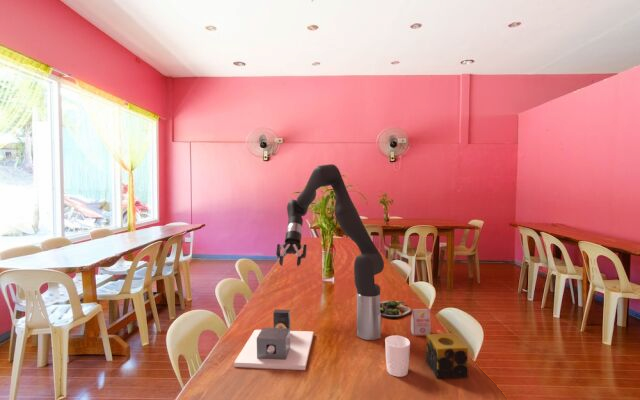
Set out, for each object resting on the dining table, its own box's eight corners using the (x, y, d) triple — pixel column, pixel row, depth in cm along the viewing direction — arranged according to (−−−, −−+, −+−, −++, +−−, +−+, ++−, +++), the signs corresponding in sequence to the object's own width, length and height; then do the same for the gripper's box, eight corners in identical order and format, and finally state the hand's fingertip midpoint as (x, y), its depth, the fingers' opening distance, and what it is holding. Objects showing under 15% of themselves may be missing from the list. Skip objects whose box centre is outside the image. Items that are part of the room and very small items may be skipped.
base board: (313, 335, 131) (313, 331, 131) (305, 370, 107) (305, 365, 107) (255, 333, 133) (255, 329, 133) (234, 366, 109) (234, 362, 109)
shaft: (290, 332, 130) (290, 309, 129) (279, 359, 110) (278, 333, 109) (275, 331, 130) (275, 309, 130) (261, 358, 110) (261, 333, 110)
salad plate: (392, 300, 169) (392, 291, 168) (420, 311, 154) (420, 302, 153) (363, 309, 158) (363, 299, 158) (390, 322, 143) (390, 311, 143)
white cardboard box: (410, 331, 134) (411, 307, 133) (427, 331, 134) (427, 307, 133) (413, 335, 130) (413, 311, 129) (430, 335, 130) (430, 311, 129)
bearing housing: (290, 347, 119) (289, 328, 118) (285, 359, 111) (285, 339, 110) (263, 346, 119) (262, 327, 119) (257, 358, 112) (256, 338, 111)
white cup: (392, 380, 101) (392, 348, 101) (380, 366, 109) (380, 337, 108) (414, 375, 103) (414, 345, 103) (401, 362, 111) (402, 333, 110)
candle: (454, 360, 112) (455, 332, 111) (469, 378, 102) (469, 347, 101) (425, 361, 112) (425, 333, 111) (436, 379, 101) (437, 348, 101)
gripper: (277, 229, 153) (272, 260, 143) (308, 230, 152) (304, 261, 141) (280, 238, 159) (275, 269, 148) (309, 239, 158) (306, 269, 147)
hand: (289, 265), depth 145 cm, fingers open, 7 cm apart
